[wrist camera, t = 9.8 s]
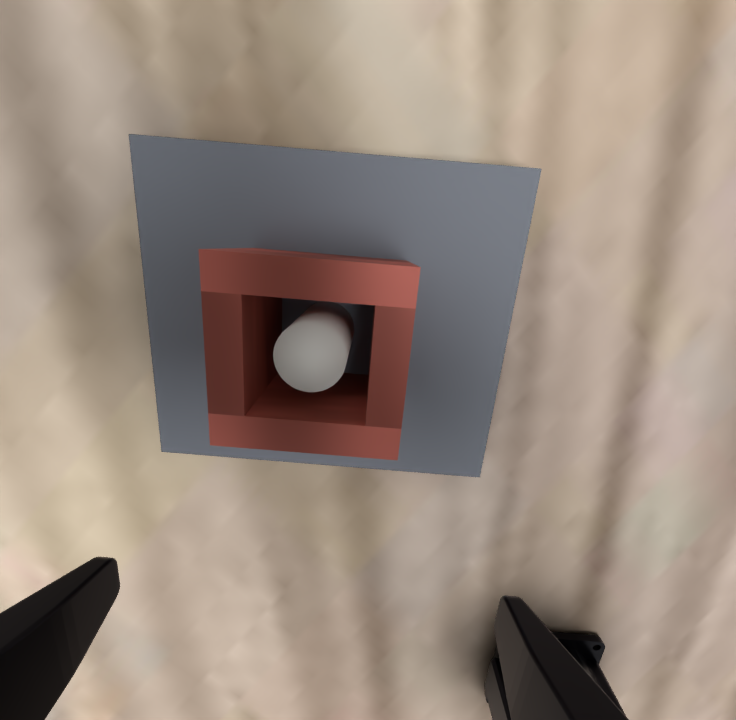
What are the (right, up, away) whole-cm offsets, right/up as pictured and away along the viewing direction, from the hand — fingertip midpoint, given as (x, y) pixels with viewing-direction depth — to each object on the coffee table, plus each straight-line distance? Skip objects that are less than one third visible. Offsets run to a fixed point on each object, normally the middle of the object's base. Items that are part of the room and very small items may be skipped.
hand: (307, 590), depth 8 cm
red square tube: (0, +7, +8) cm, 10 cm away
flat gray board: (0, +7, +9) cm, 12 cm away
